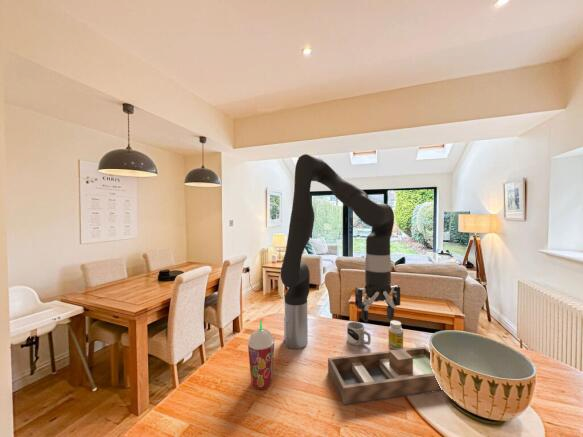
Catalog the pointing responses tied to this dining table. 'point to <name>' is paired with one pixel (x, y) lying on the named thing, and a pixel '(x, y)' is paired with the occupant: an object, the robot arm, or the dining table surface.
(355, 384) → the wooden compartment tray
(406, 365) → the walnut block
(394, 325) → the supplement bottle
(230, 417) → the dining table surface
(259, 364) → the smoothie
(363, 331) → the mug
